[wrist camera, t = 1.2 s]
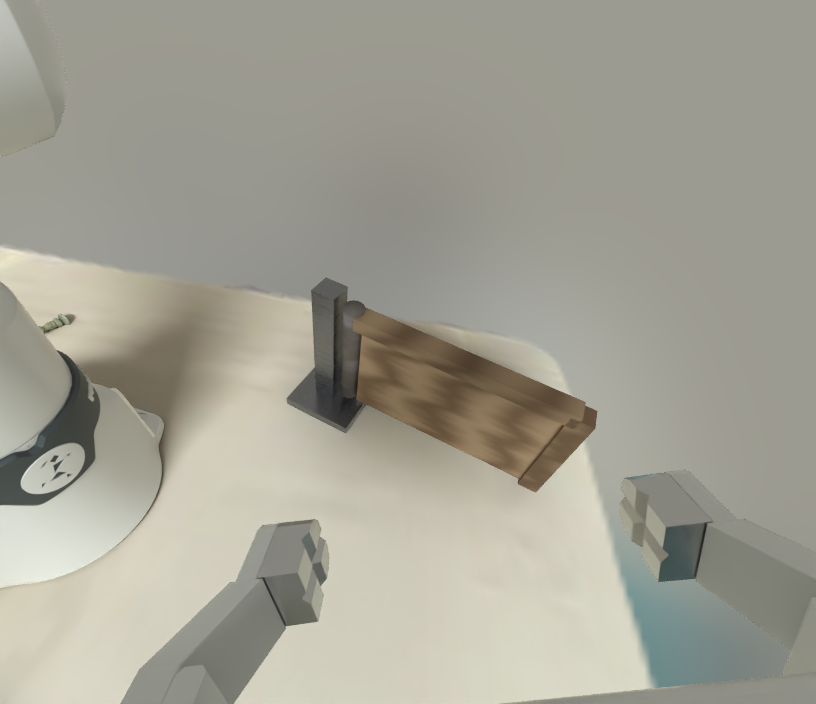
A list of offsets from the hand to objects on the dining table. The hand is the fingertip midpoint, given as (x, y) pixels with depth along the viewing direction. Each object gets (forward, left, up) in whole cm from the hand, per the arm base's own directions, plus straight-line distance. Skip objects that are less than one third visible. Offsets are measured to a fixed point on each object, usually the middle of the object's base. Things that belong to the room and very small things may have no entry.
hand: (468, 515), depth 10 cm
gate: (-3, +20, -27) cm, 33 cm away
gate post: (-16, +20, -28) cm, 38 cm away
